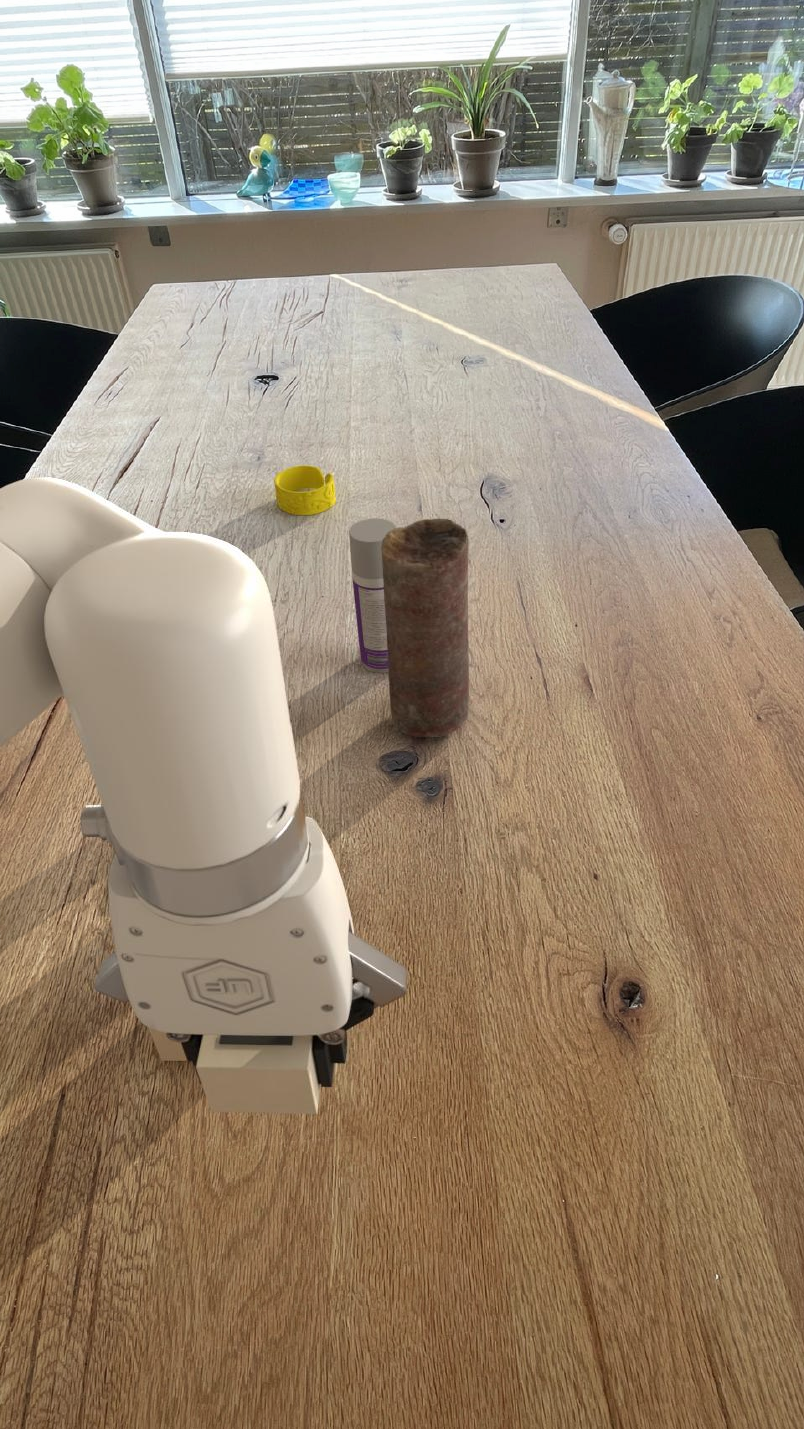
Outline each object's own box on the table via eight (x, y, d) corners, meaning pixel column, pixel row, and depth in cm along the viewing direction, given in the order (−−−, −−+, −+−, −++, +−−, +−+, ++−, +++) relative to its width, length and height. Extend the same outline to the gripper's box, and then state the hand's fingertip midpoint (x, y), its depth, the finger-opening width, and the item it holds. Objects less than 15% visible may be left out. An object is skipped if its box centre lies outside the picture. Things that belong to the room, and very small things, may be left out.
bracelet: (306, 521, 121) (302, 498, 119) (265, 503, 125) (261, 480, 123) (347, 499, 125) (344, 476, 123) (305, 482, 129) (302, 460, 127)
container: (366, 644, 100) (354, 516, 90) (410, 647, 99) (402, 518, 89) (355, 671, 96) (342, 541, 87) (401, 675, 95) (392, 544, 86)
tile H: (211, 1112, 49) (194, 1066, 46) (230, 1017, 53) (216, 969, 50) (317, 1114, 48) (307, 1068, 45) (327, 1018, 53) (320, 970, 50)
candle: (477, 742, 87) (477, 552, 74) (398, 754, 86) (384, 565, 73) (460, 691, 93) (456, 507, 80) (386, 702, 92) (370, 518, 79)
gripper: (-26, 901, 36) (92, 1126, 48) (421, 905, 35) (430, 1133, 47) (38, 765, 42) (130, 996, 54) (425, 765, 41) (433, 1000, 53)
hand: (270, 1058), depth 50 cm, fingers closed on tile H, 5 cm apart
